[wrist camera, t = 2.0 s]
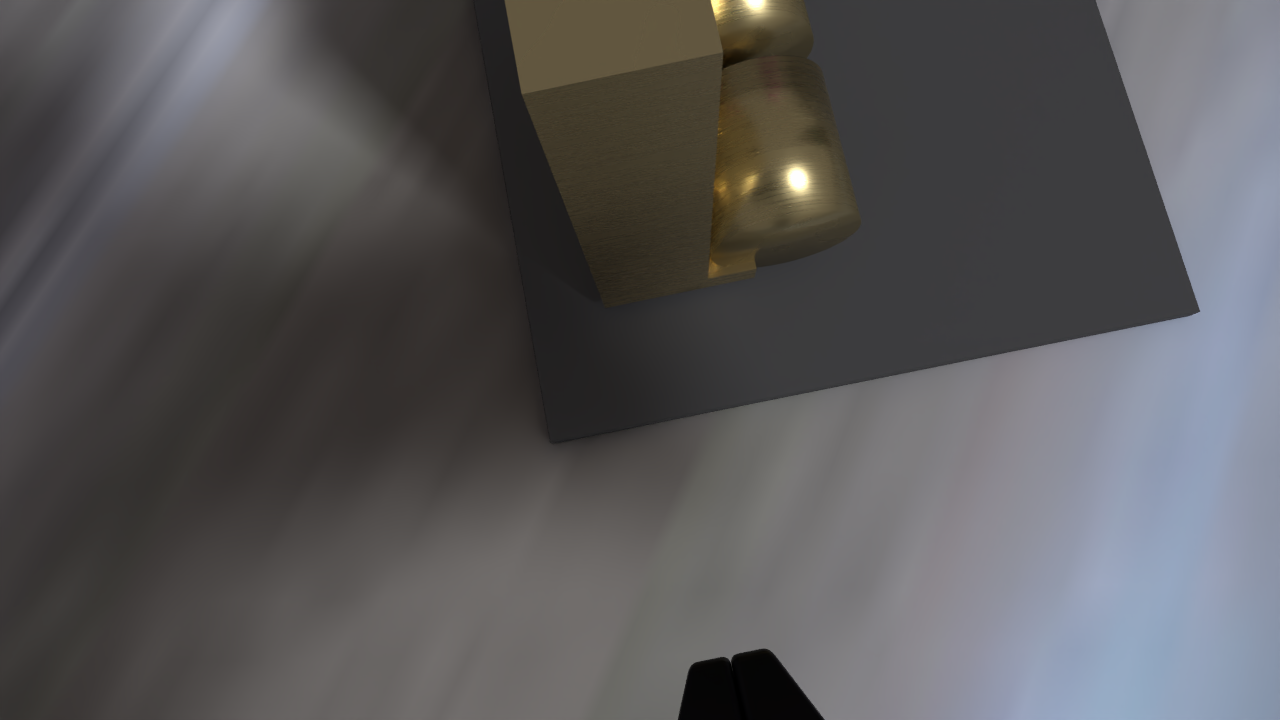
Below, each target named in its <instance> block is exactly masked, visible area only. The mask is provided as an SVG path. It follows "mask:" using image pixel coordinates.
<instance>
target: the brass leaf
mask: <svg viewBox="0 0 1280 720" xmlns="http://www.w3.org/2000/svg"><path fill="white" fill-rule="evenodd" d="M505 5H506V11H507V16H508V22H509V27H510V33H511V38H512V44H513V49H514V55H515V60H516V66H517V71H518V77H519V82H520V88H521V93H522V96H523V99H524V101H525V104H526V107H527V109H528V112H529V114H530V117H531V119H532V122H533V125H534V127H535V130H536V132H537V135H538V137H539V140H540V143H541V145H542V148H543V150H544V153H545V155H546V158H547V160H548V163H549V166H550V168H551V171H552V173H553V176H554V178H555V181H556V184H557V186H558V189H559V191H560V194H561V196H562V199H563V201H564V204H565V207H566V209H567V212H568V214H569V217H570V219H571V222H572V225H573V227H574V230H575V232H576V235H577V237H578V240H579V242H580V245H581V248H582V250H583V253H584V255H585V258H586V260H587V263H588V266H589V268H590V271H591V273H592V276H593V278H594V281H595V284H596V286H597V289H598V291H599V294H600V296H601V299H602V301H603V304H604V307H605V308H608V307H613V306H618V305H623V304H628V303H633V302H637V301H642V300H647V299H652V298H657V297H662V296H667V295H672V294H677V293H682V292H687V291H691V290H696V289H701V288H706V287H711V286H716V285H721V284H726V283H731V282H736V281H741V280H745V279H750V278H754V277H755V273H756V269H757V268H758V267H765V266H771V265H777V264H782V263H786V262H790V261H794V260H798V259H801V258H804V257H807V256H810V255H813V254H816V253H819V252H821V251H824V250H826V249H828V248H831V247H833V246H835V245H837V244H839V243H840V242H842V241H844V240H845V239H847V238H849V237H850V236H851V235H852V234H854V233H855V232H856V231H857V230H858V228H859V227H860V225H861V217H860V214H859V210H858V206H857V202H856V198H855V194H854V191H853V187H852V183H851V179H850V175H849V171H848V167H847V164H846V160H845V156H844V152H843V148H842V144H841V141H840V137H839V133H838V129H837V125H836V121H835V117H834V114H833V110H832V106H831V102H830V98H829V94H828V91H827V87H826V83H825V79H824V75H823V72H822V69H821V68H820V67H819V65H818V64H816V63H815V62H813V61H811V60H809V59H807V57H808V56H809V54H810V52H811V50H812V47H813V43H814V38H813V33H812V29H811V25H810V21H809V17H808V14H807V10H806V6H805V2H804V0H505Z"/></svg>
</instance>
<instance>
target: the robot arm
mask: <svg viewBox="0 0 1280 720" xmlns="http://www.w3.org/2000/svg"><path fill="white" fill-rule="evenodd" d="M731 664H732V666H731ZM678 720H824V718H823V717H822V716H821V714H820V713H819V712H818V710H817V709H816V708H815V707H814V705H813V704H812V703H811V701H810V700H809V699H808V697H807V696H806V695H805V694H804V692H803V691H802V690H801V688H800V687H799V686H798V684H797V683H796V682H795V681H794V679H793V678H792V677H791V675H790V674H789V673H788V671H787V670H786V669H785V668H784V666H783V665H782V664H781V662H780V661H779V660H778V658H777V657H776V656H775V655H774V654H773V653H772V652H771V651H770V650H768V649H758V650H754V651H749V652H744V653H739V654H736V655H734V656H733V657H732V660H731V663H730V661H729V659H728V658H725V657H719V658H715V659H710V660H705V661H700V662H696V663H694V664H692V665H691V667H690V669H689V671H688V675H687V680H686V684H685V689H684V694H683V698H682V703H681V707H680V712H679V717H678Z"/></svg>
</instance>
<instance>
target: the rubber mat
mask: <svg viewBox="0 0 1280 720" xmlns="http://www.w3.org/2000/svg"><path fill="white" fill-rule="evenodd" d="M804 2H805V6H806V10H807V14H808V17H809V21H810V25H811V29H812V33H813V38H814V43H813V47H812V50H811V52H810V54H809V56H808V57H807V59H809V60H811V61H813V62H815V63H816V64H818V65H819V67H820V68H821V69H822V72H823V75H824V79H825V83H826V87H827V91H828V94H829V98H830V102H831V106H832V110H833V114H834V117H835V121H836V125H837V129H838V133H839V137H840V141H841V144H842V148H843V152H844V156H845V160H846V164H847V167H848V171H849V175H850V179H851V183H852V187H853V191H854V194H855V198H856V202H857V206H858V210H859V214H860V217H861V225H860V227H859V228H858V230H857V231H856V232H855V233H854V234H852V235H851V236H850V237H849V238H847V239H845V240H844V241H842V242H840V243H839V244H837V245H835V246H833V247H831V248H828V249H826V250H824V251H821V252H819V253H816V254H813V255H810V256H807V257H804V258H801V259H798V260H794V261H790V262H786V263H782V264H777V265H771V266H765V267H758V268H757V269H756V273H755V277H754V278H750V279H745V280H741V281H736V282H731V283H726V284H721V285H716V286H711V287H706V288H701V289H696V290H691V291H687V292H682V293H677V294H672V295H667V296H662V297H657V298H652V299H647V300H642V301H637V302H633V303H628V304H623V305H618V306H613V307H608V308H605V307H604V304H603V301H602V299H601V296H600V294H599V291H598V289H597V286H596V284H595V281H594V278H593V276H592V273H591V271H590V268H589V266H588V263H587V260H586V258H585V255H584V253H583V250H582V248H581V245H580V242H579V240H578V237H577V235H576V232H575V230H574V227H573V225H572V222H571V219H570V217H569V214H568V212H567V209H566V207H565V204H564V201H563V199H562V196H561V194H560V191H559V189H558V186H557V184H556V181H555V178H554V176H553V173H552V171H551V168H550V166H549V163H548V160H547V158H546V155H545V153H544V150H543V148H542V145H541V143H540V140H539V137H538V135H537V132H536V130H535V127H534V125H533V122H532V119H531V117H530V114H529V112H528V109H527V107H526V104H525V101H524V99H523V96H522V93H521V88H520V82H519V77H518V71H517V66H516V60H515V55H514V49H513V44H512V38H511V33H510V27H509V22H508V16H507V11H506V5H505V0H474V6H475V12H476V17H477V23H478V29H479V35H480V40H481V46H482V52H483V58H484V64H485V69H486V75H487V81H488V87H489V92H490V98H491V104H492V110H493V115H494V121H495V127H496V133H497V139H498V144H499V150H500V156H501V162H502V167H503V173H504V179H505V185H506V190H507V196H508V202H509V208H510V214H511V219H512V225H513V231H514V237H515V242H516V248H517V254H518V260H519V265H520V271H521V277H522V283H523V289H524V294H525V300H526V306H527V312H528V317H529V323H530V329H531V335H532V340H533V346H534V352H535V358H536V364H537V369H538V375H539V381H540V387H541V392H542V398H543V404H544V410H545V415H546V421H547V427H548V433H549V438H550V442H551V443H552V444H554V443H559V442H564V441H569V440H574V439H579V438H584V437H589V436H594V435H599V434H604V433H609V432H614V431H619V430H624V429H629V428H634V427H639V426H644V425H649V424H654V423H659V422H664V421H668V420H673V419H678V418H683V417H688V416H693V415H698V414H703V413H708V412H713V411H718V410H723V409H728V408H733V407H738V406H743V405H748V404H753V403H758V402H763V401H768V400H773V399H778V398H783V397H788V396H793V395H798V394H803V393H808V392H813V391H818V390H823V389H828V388H833V387H838V386H843V385H848V384H853V383H858V382H863V381H868V380H873V379H878V378H883V377H888V376H893V375H898V374H902V373H907V372H912V371H917V370H922V369H927V368H932V367H937V366H942V365H947V364H952V363H957V362H962V361H967V360H972V359H977V358H982V357H987V356H992V355H997V354H1002V353H1007V352H1012V351H1017V350H1022V349H1027V348H1032V347H1037V346H1042V345H1047V344H1052V343H1057V342H1062V341H1067V340H1072V339H1077V338H1082V337H1087V336H1092V335H1097V334H1102V333H1107V332H1112V331H1117V330H1122V329H1127V328H1132V327H1136V326H1141V325H1146V324H1151V323H1156V322H1161V321H1166V320H1171V319H1176V318H1181V317H1186V316H1191V315H1193V314H1195V313H1198V312H1200V310H1199V307H1198V304H1197V301H1196V298H1195V295H1194V292H1193V289H1192V286H1191V283H1190V280H1189V277H1188V274H1187V271H1186V268H1185V265H1184V262H1183V259H1182V256H1181V253H1180V251H1179V248H1178V245H1177V242H1176V239H1175V236H1174V233H1173V230H1172V227H1171V224H1170V221H1169V218H1168V215H1167V212H1166V209H1165V206H1164V203H1163V200H1162V197H1161V194H1160V191H1159V188H1158V185H1157V182H1156V179H1155V176H1154V173H1153V170H1152V167H1151V164H1150V161H1149V158H1148V155H1147V152H1146V149H1145V146H1144V143H1143V141H1142V138H1141V135H1140V132H1139V129H1138V126H1137V123H1136V120H1135V117H1134V114H1133V111H1132V108H1131V105H1130V102H1129V99H1128V96H1127V93H1126V90H1125V87H1124V84H1123V81H1122V78H1121V75H1120V72H1119V69H1118V66H1117V63H1116V60H1115V57H1114V54H1113V51H1112V48H1111V45H1110V42H1109V39H1108V36H1107V33H1106V31H1105V28H1104V25H1103V22H1102V19H1101V16H1100V13H1099V10H1098V7H1097V4H1096V1H1095V0H804Z"/></svg>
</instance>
